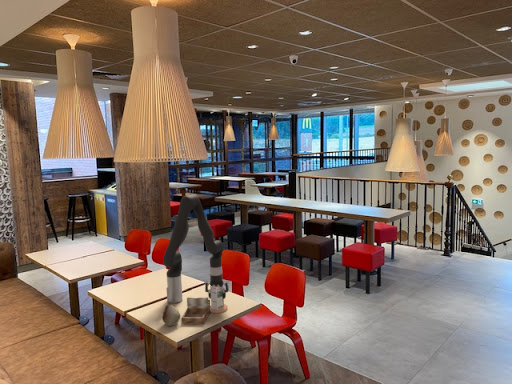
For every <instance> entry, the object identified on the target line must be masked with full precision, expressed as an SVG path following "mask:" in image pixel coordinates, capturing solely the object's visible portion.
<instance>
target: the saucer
mask: <svg viewBox="0 0 512 384" xmlns="http://www.w3.org/2000/svg"><path fill="white" fill-rule="evenodd" d="M228 308H229V307H228V305H227V304H225V303H224V307H223V308H221V309H219V310H216V309H213V308H211V305H210V309H211V314H222V313H225V312H226V311H228Z"/></svg>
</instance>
